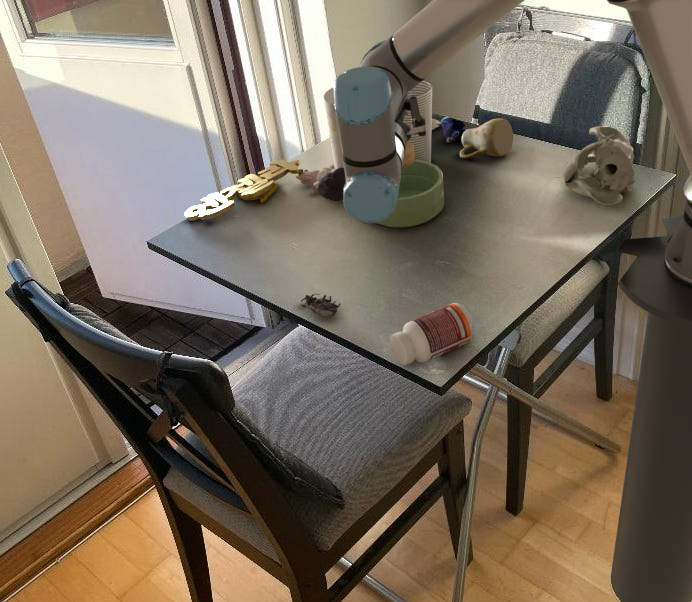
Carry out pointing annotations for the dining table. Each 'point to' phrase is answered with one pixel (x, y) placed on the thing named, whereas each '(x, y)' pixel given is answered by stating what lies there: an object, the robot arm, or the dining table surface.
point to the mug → (488, 139)
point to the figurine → (325, 182)
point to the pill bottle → (433, 334)
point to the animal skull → (603, 167)
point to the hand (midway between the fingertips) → (393, 87)
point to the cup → (425, 107)
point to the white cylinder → (333, 128)
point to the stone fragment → (435, 123)
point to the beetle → (320, 305)
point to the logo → (263, 195)
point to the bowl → (417, 195)
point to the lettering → (242, 190)
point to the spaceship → (452, 129)
